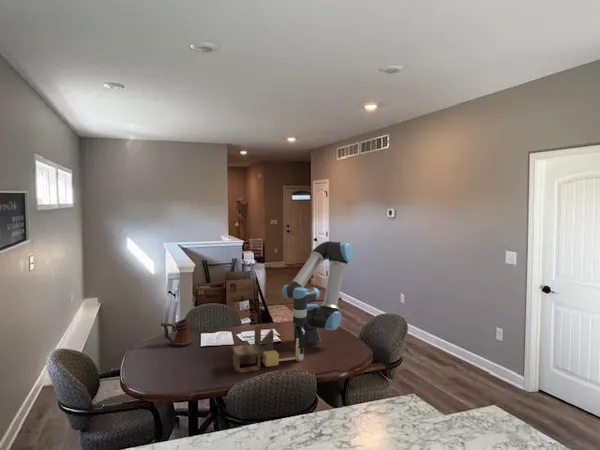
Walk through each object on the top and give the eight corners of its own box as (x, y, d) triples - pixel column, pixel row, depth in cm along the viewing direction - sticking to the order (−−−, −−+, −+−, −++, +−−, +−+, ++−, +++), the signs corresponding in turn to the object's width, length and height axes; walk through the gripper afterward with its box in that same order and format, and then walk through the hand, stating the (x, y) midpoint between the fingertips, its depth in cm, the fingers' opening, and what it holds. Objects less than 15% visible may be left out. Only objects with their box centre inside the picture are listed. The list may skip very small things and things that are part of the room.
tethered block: (300, 357, 238) (300, 337, 238) (304, 361, 233) (304, 340, 232) (263, 362, 231) (263, 340, 230) (266, 366, 225) (266, 344, 225)
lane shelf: (255, 361, 232) (255, 343, 232) (261, 369, 221) (261, 351, 221) (231, 364, 228) (231, 346, 227) (236, 373, 217) (236, 354, 216)
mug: (160, 349, 250) (160, 324, 249) (160, 343, 261) (160, 319, 260) (192, 346, 255) (192, 321, 254) (191, 340, 266) (190, 316, 265)
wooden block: (273, 355, 242) (273, 324, 241) (255, 357, 238) (255, 326, 237) (271, 353, 245) (271, 322, 244) (253, 355, 242) (253, 324, 240)
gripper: (288, 312, 240) (288, 353, 241) (298, 320, 224) (298, 364, 226) (300, 311, 242) (300, 351, 244) (311, 319, 227) (311, 362, 228)
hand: (299, 357), depth 235 cm, fingers closed on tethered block, 4 cm apart
